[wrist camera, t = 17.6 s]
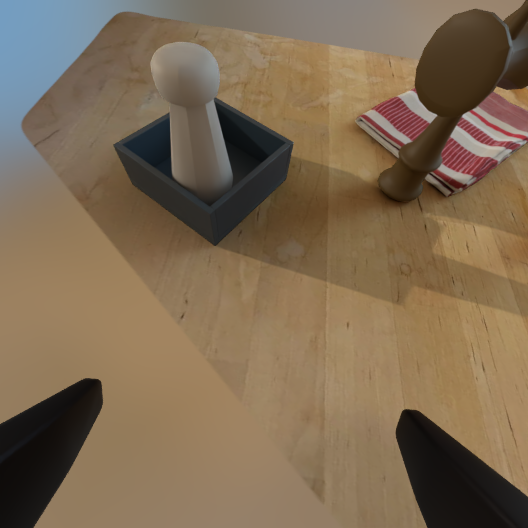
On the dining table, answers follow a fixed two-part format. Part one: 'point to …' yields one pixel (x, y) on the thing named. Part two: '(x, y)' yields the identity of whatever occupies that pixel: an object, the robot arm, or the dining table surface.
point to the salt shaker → (193, 119)
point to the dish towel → (452, 136)
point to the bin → (241, 161)
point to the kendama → (458, 86)
